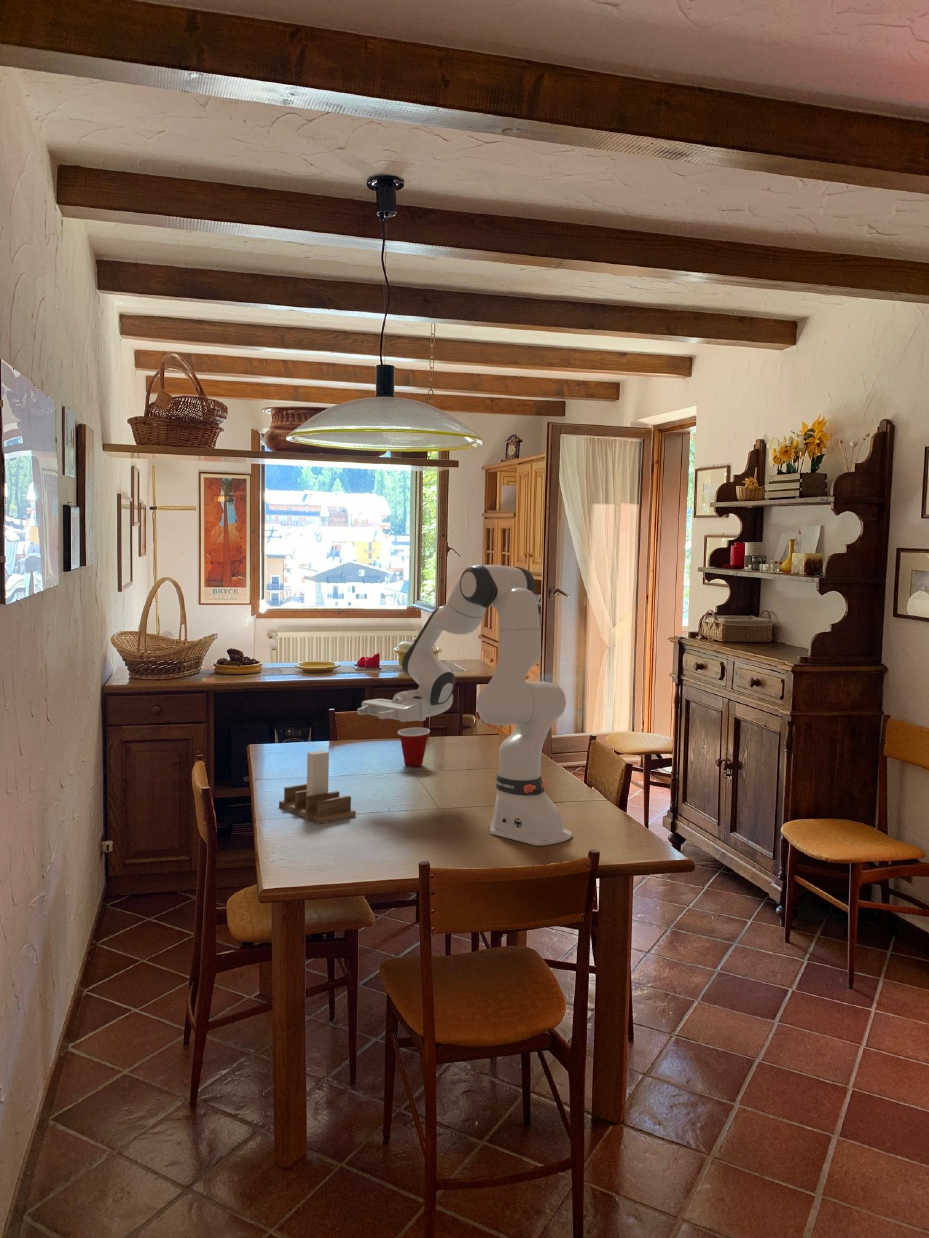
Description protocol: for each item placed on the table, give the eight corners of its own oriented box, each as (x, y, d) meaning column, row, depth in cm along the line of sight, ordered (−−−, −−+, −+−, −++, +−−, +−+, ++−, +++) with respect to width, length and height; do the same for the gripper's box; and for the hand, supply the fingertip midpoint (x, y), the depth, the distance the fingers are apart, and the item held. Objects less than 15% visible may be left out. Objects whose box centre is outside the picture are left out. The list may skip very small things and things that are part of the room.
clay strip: (327, 805, 255) (328, 752, 254) (312, 808, 252) (313, 754, 250) (321, 803, 257) (323, 750, 256) (306, 806, 254) (307, 752, 253)
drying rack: (355, 816, 251) (356, 796, 251) (317, 824, 243) (318, 803, 243) (315, 799, 266) (316, 780, 265) (278, 806, 258) (279, 787, 258)
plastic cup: (391, 762, 313) (392, 727, 312) (420, 760, 318) (421, 726, 317) (404, 770, 304) (405, 734, 303) (434, 767, 309) (435, 732, 308)
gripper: (383, 692, 279) (346, 699, 269) (428, 699, 264) (391, 706, 255) (383, 712, 279) (347, 720, 270) (429, 721, 265) (392, 729, 255)
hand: (369, 713), depth 262 cm, fingers open, 8 cm apart
